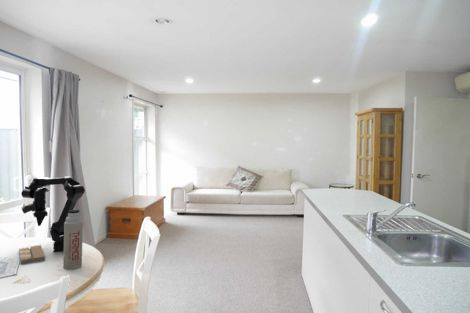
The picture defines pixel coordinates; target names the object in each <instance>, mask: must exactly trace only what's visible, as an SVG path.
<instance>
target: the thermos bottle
mask: <svg viewBox="0 0 470 313" xmlns="http://www.w3.org/2000/svg"><path fill="white" fill-rule="evenodd" d="M80 212H81V211H80V210H79V209H73V210H69V211H68V213H69V214H68V217H66V222H65V223H64V251H63V259H62V260H63V261H62V262H63V263H62V264H63V266H62V267H63V268H62V269H64V270H65V271H73V270H77V269H79V268H81V267H82V266H83V261H82V260H83V227H84V221H83V220H82V216H81V215H80Z"/></svg>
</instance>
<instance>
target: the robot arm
mask: <svg viewBox="0 0 470 313" xmlns="http://www.w3.org/2000/svg"><path fill="white" fill-rule="evenodd" d="M53 185H62V186H63V190H64V191H65V192H66V201H65V203H64V206H63V208H62V211H61V213H60V216H59V218H58V220H57V221H54V222H52V224H51V227H50V228H49V230H50V231H49V234H50V238H51V241H53V246H52V247H53V252H54V253H56V252H64V223H65V222H66V217H68V214H69V213H68V211H69V210H75V209H74V208H75V206H76V204H77V202H78V201H79V200H80V199H81V198H82V197H83V195H84V193H85V191H86V189H85V187H84V186H83V185H82V184H81V183H80V182H78V181H76V180H75V179H73V178H72V177H71V176H63V177H53V178H50V177H47V176H45V177H44V176H43V177H35V178H34V177H33V179H32V181H31V183H30V184H29V185H27V186H24V188H23V190H22V191H21V197H23V198H25V199H33V201H32V203H29V204H27V205H24V206H21V211H22V213H23V214H27V213H30V212H33V213H32V215H33V216H34V218H36V223H37V227H41V225H42V224H43V221H44V220H45V217H48V215H49V214H48V211H47V208H46V203H47V200H46V197H47V194H46V193H47V192H49V189H48V188H47V187H49V186H53Z"/></svg>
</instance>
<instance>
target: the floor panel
mask: <svg viewBox="0 0 470 313" xmlns="http://www.w3.org/2000/svg"><path fill="white" fill-rule="evenodd" d="M29 249H30V254H31V258H32V260H28V261H23V262H21V261H20V260H19V263H20V265H25V264H31V263H38V262H44V261H45V260H46V257H45V253H44V250H43V248H42V245H41V244H39V245H33V246H30V247H29ZM18 255H19V257H20V253H19V252H18Z"/></svg>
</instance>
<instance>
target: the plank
mask: <svg viewBox="0 0 470 313" xmlns="http://www.w3.org/2000/svg"><path fill="white" fill-rule="evenodd" d="M19 253H20V256H19V262H20V261H21V262H23V261H28V260H32V258H31V254H30V247H29V246H28V247H21V248H18V254H19Z"/></svg>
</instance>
